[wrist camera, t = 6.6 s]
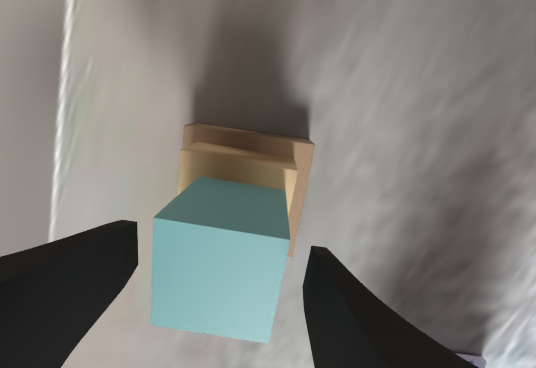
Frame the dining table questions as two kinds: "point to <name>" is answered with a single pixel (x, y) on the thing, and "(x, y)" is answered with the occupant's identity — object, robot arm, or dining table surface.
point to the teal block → (220, 259)
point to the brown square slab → (265, 144)
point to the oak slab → (237, 167)
